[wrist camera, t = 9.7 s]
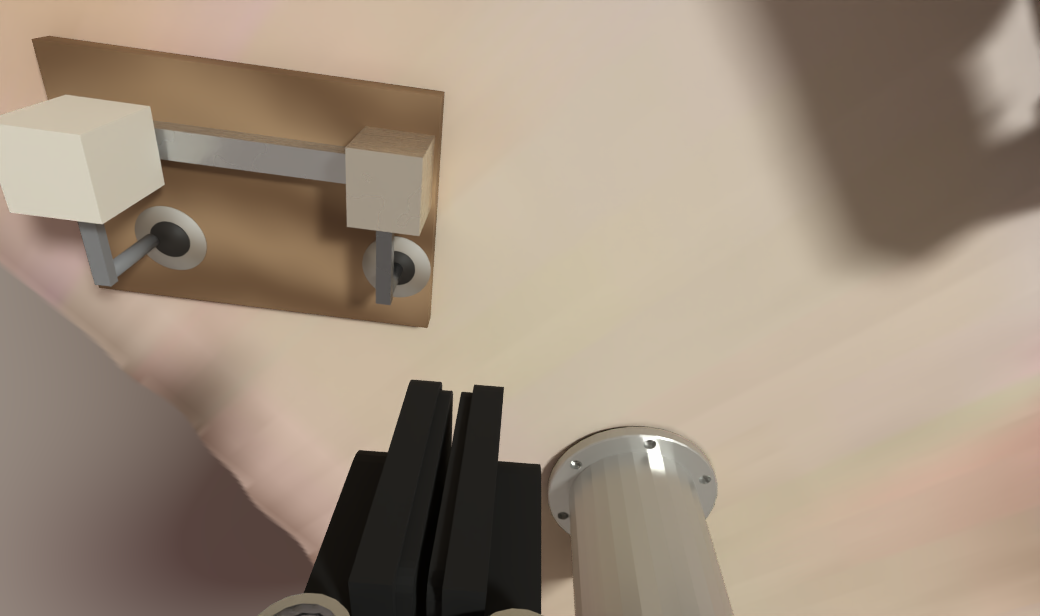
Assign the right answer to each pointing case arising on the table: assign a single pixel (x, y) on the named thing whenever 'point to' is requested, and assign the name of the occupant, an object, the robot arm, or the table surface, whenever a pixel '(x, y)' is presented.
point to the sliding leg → (82, 169)
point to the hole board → (256, 183)
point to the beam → (331, 176)
